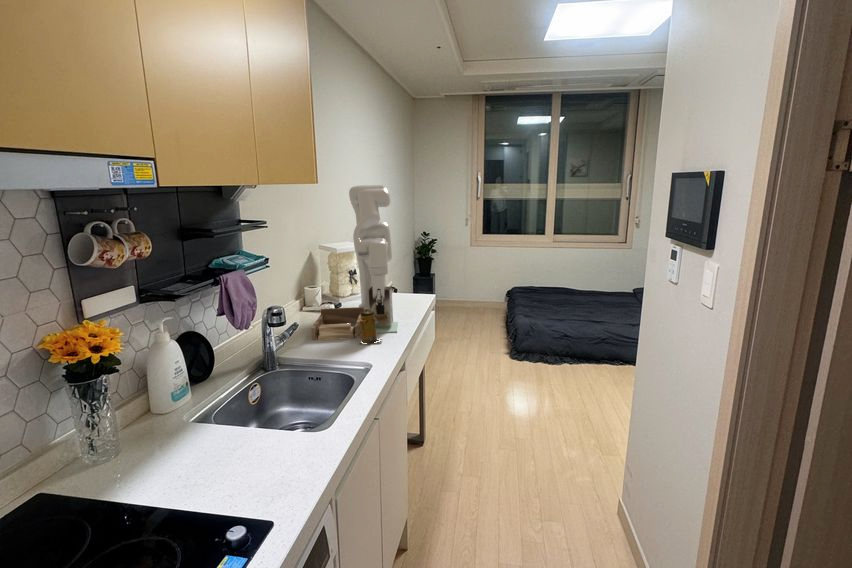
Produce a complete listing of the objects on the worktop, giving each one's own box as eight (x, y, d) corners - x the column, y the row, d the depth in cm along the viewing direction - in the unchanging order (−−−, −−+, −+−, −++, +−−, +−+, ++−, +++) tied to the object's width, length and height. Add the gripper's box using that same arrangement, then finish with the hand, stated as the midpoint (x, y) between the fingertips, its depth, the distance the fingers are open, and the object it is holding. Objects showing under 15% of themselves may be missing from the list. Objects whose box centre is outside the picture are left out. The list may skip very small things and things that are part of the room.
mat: (368, 324, 195) (368, 323, 195) (398, 322, 195) (397, 321, 195) (365, 333, 182) (365, 332, 182) (396, 332, 182) (396, 331, 182)
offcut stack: (320, 336, 181) (319, 324, 180) (354, 335, 182) (353, 323, 181) (318, 340, 177) (317, 328, 176) (353, 338, 178) (352, 326, 177)
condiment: (362, 338, 177) (359, 309, 174) (383, 337, 177) (381, 309, 174) (359, 344, 170) (357, 315, 167) (381, 344, 170) (379, 314, 167)
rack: (322, 323, 198) (321, 308, 196) (365, 321, 198) (363, 307, 197) (311, 340, 177) (310, 323, 175) (359, 338, 177) (358, 321, 176)
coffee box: (369, 326, 186) (367, 289, 182) (373, 322, 192) (370, 286, 189) (391, 326, 185) (389, 289, 181) (393, 321, 191) (391, 285, 188)
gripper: (371, 267, 192) (374, 306, 196) (367, 275, 175) (370, 318, 179) (388, 266, 192) (391, 305, 196) (386, 274, 175) (388, 317, 179)
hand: (381, 311), depth 187 cm, fingers closed on coffee box, 6 cm apart
